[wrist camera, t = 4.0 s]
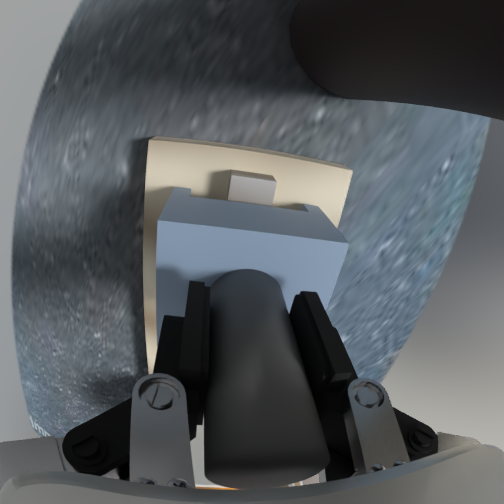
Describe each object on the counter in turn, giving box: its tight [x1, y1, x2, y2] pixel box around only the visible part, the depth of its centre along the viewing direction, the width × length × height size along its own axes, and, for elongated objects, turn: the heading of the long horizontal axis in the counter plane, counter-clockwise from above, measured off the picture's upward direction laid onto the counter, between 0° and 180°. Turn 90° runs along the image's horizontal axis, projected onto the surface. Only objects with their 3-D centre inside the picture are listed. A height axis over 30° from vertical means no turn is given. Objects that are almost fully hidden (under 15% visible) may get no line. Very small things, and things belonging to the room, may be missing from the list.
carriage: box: [156, 187, 349, 489], centre depth 11 cm, size 6×7×11 cm
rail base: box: [143, 136, 353, 374], centre depth 19 cm, size 22×10×3 cm, turn 170°
